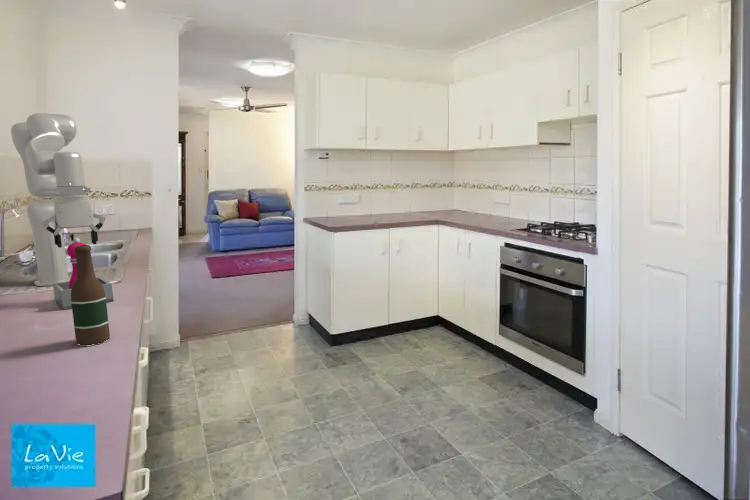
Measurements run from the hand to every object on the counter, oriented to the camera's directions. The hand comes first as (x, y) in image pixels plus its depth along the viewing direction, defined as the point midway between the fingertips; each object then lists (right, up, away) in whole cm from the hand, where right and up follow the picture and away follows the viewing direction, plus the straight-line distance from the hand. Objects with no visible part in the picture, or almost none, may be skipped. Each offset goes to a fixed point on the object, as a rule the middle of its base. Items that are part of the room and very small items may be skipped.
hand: (77, 245), depth 153 cm
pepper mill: (0, -18, +3) cm, 18 cm away
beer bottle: (+26, -24, -35) cm, 50 cm away
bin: (+1, -18, +3) cm, 19 cm away
